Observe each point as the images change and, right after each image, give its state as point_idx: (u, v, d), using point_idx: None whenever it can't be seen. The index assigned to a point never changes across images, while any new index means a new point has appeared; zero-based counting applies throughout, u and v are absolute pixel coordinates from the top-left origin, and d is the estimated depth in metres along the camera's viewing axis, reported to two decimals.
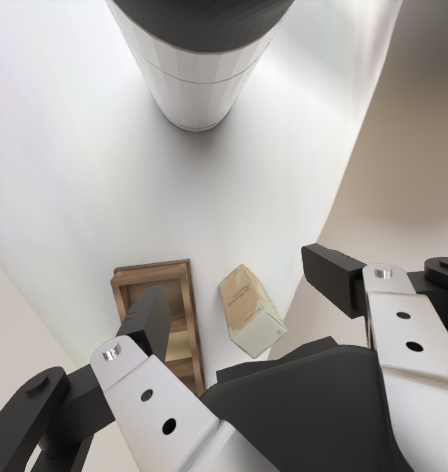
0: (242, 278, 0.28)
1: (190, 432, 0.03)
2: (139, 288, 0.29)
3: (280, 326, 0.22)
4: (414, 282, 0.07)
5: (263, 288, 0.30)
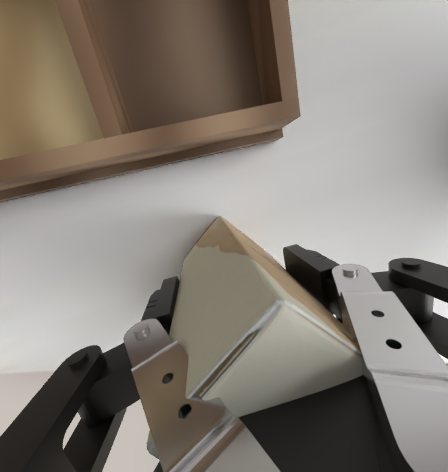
0: (279, 265, 0.12)
1: (203, 421, 0.04)
2: None
3: None
4: (378, 281, 0.07)
5: None
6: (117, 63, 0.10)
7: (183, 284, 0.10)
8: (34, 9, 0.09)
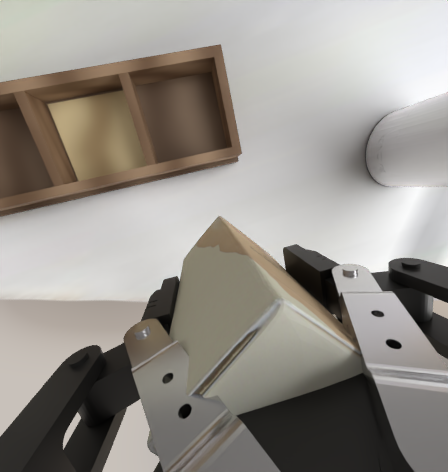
0: (279, 264, 0.12)
1: (203, 421, 0.04)
2: (194, 93, 0.21)
3: None
4: (378, 281, 0.07)
5: None
6: (150, 126, 0.21)
7: (183, 284, 0.10)
8: (112, 104, 0.20)
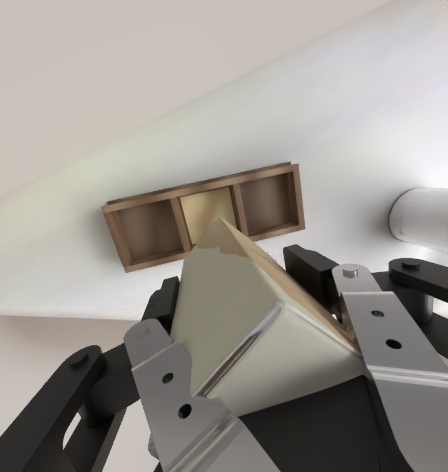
0: (279, 266, 0.12)
1: (203, 421, 0.04)
2: (272, 185, 0.30)
3: None
4: (378, 281, 0.07)
5: None
6: None
7: (184, 285, 0.10)
8: (219, 195, 0.29)
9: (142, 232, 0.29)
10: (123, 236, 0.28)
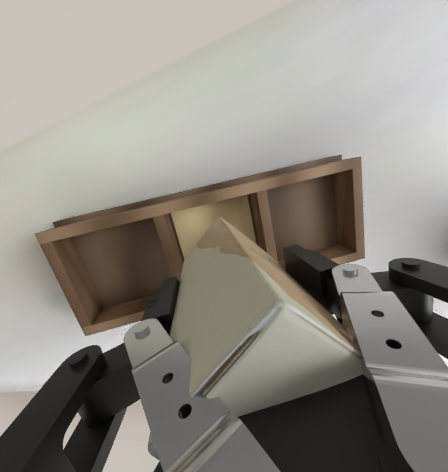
0: (279, 265, 0.12)
1: (203, 421, 0.04)
2: (313, 192, 0.20)
3: None
4: (378, 281, 0.07)
5: None
6: None
7: (183, 285, 0.10)
8: (233, 208, 0.19)
9: (113, 268, 0.19)
10: (81, 277, 0.17)
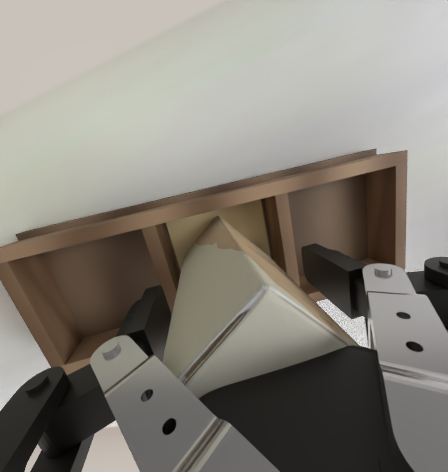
0: None
1: (190, 432, 0.03)
2: (340, 194, 0.16)
3: None
4: (414, 282, 0.07)
5: None
6: None
7: (183, 279, 0.11)
8: (243, 215, 0.15)
9: (95, 289, 0.15)
10: (53, 302, 0.14)
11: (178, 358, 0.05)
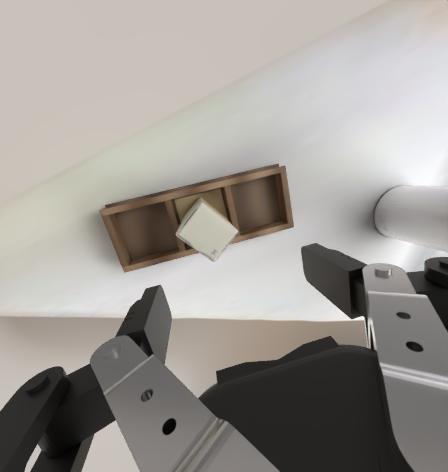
0: (223, 216, 0.28)
1: (189, 432, 0.03)
2: (262, 186, 0.32)
3: (220, 252, 0.21)
4: (414, 282, 0.07)
5: None
6: (233, 208, 0.32)
7: (183, 219, 0.26)
8: (212, 197, 0.31)
9: (139, 234, 0.31)
10: (121, 238, 0.29)
11: (182, 224, 0.21)
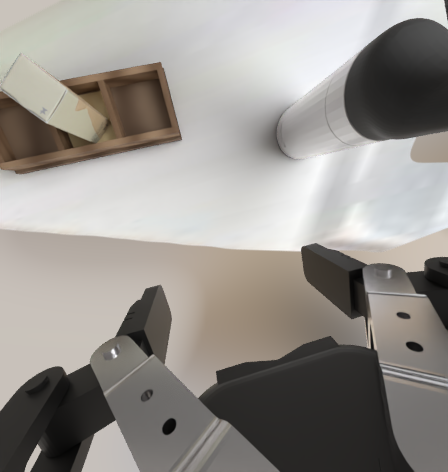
0: None
1: (190, 432, 0.03)
2: (148, 92, 0.32)
3: (51, 112, 0.21)
4: (414, 282, 0.07)
5: (88, 139, 0.29)
6: (120, 114, 0.32)
7: None
8: (95, 99, 0.31)
9: (22, 136, 0.31)
10: None
11: None
